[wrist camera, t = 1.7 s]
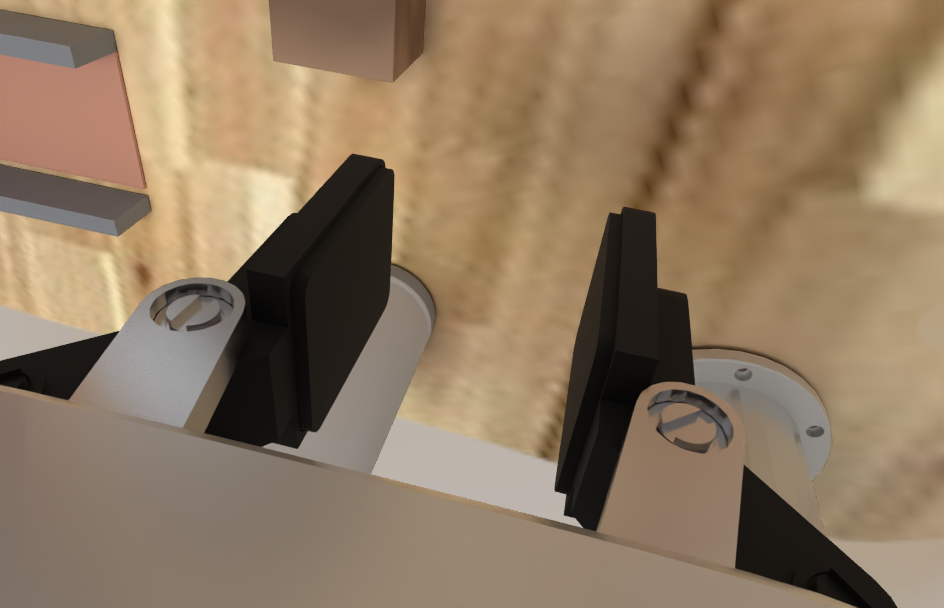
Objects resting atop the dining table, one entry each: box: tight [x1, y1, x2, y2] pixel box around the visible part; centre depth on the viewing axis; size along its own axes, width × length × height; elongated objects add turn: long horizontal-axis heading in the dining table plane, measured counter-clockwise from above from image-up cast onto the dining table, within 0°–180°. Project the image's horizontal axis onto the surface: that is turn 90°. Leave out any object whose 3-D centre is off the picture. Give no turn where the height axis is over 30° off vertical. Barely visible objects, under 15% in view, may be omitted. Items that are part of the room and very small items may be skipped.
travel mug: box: [264, 265, 435, 474], centre depth 30 cm, size 6×7×20 cm
